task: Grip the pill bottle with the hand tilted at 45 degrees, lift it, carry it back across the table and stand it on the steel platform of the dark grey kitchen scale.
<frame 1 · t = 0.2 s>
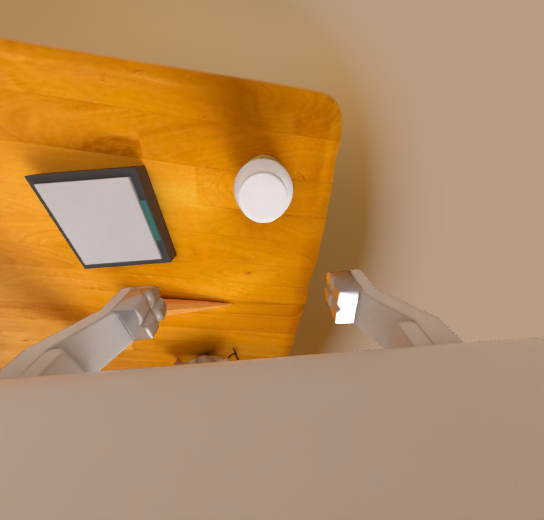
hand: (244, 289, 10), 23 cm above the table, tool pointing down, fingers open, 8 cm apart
carrot: (184, 302, 40), on the table
decorative bird: (208, 354, 49), on the table
pill bottle: (263, 179, 29), on the table
scale: (117, 218, 31), on the table
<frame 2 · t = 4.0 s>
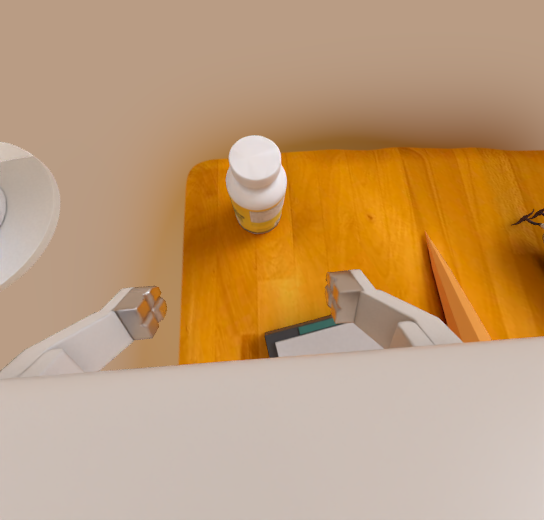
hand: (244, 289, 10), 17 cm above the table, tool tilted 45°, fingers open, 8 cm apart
carrot: (446, 299, 27), on the table
pill bottle: (258, 215, 29), on the table
scale: (333, 376, 24), on the table
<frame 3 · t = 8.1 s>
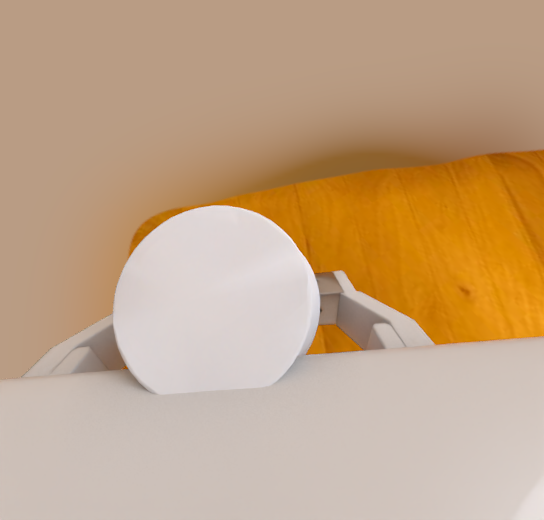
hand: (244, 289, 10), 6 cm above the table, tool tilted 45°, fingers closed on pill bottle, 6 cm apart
pill bottle: (258, 305, 16), on the table, touching gripper
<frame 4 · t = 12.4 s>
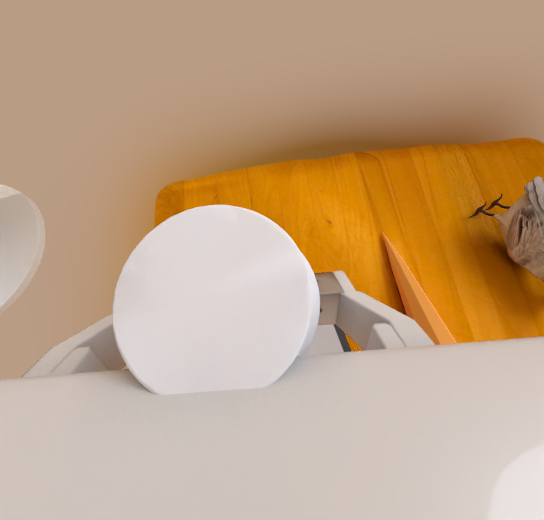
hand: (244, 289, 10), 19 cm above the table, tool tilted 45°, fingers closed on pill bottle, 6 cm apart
carrot: (407, 295, 28), on the table
decorative bird: (508, 252, 29), on the table
pill bottle: (257, 305, 16), point 12 cm above the table, touching gripper
scale: (298, 377, 25), on the table
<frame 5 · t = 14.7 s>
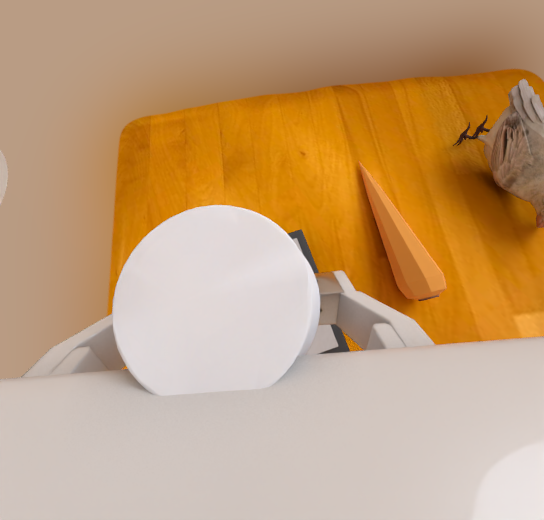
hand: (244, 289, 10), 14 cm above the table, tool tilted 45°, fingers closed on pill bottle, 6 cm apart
carrot: (385, 224, 26), on the table
decorative bird: (494, 181, 27), on the table
pill bottle: (258, 305, 16), point 8 cm above the table, touching gripper
scale: (264, 307, 24), on the table
when the fingers open (9 cm above the table, at t = 16.7 s): pill bottle stays where it is, resting on scale.
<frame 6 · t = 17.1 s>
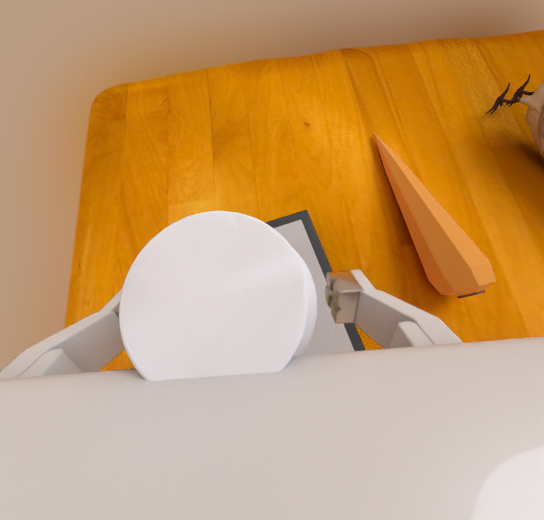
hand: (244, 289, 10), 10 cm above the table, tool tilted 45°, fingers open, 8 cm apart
carrot: (407, 206, 21), on the table
decorative bird: (537, 154, 23), on the table
pill bottle: (257, 305, 16), point 3 cm above the table, touching scale
scale: (260, 306, 19), on the table
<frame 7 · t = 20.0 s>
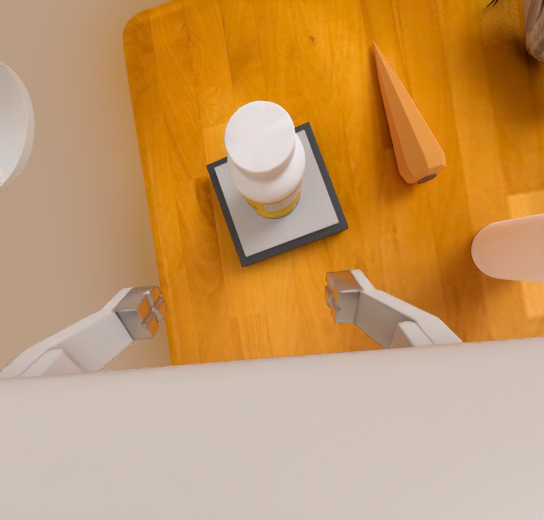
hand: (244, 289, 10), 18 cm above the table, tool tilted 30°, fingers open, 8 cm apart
carrot: (394, 114, 26), on the table
decorative bird: (528, 50, 24), on the table
pill bottle: (274, 194, 25), point 3 cm above the table, touching scale
cylindrical container: (501, 250, 25), on the table
scale: (276, 201, 27), on the table
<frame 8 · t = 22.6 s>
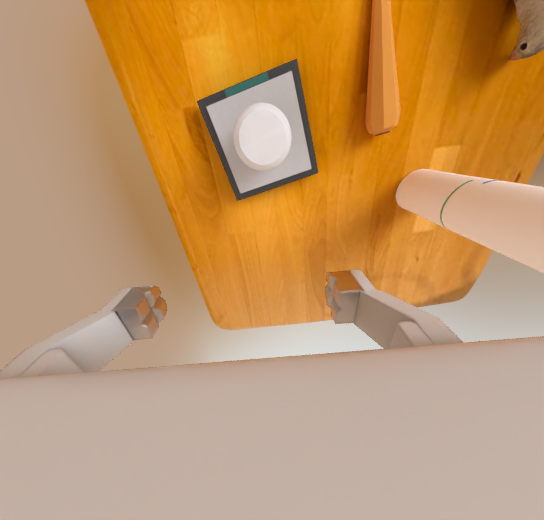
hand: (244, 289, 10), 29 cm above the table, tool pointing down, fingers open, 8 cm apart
carrot: (378, 50, 27), on the table
pill bottle: (262, 140, 29), point 3 cm above the table, touching scale
cylindrical container: (414, 189, 36), on the table
scale: (262, 140, 31), on the table
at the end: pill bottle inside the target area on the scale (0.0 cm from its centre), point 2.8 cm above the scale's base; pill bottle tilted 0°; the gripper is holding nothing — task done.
